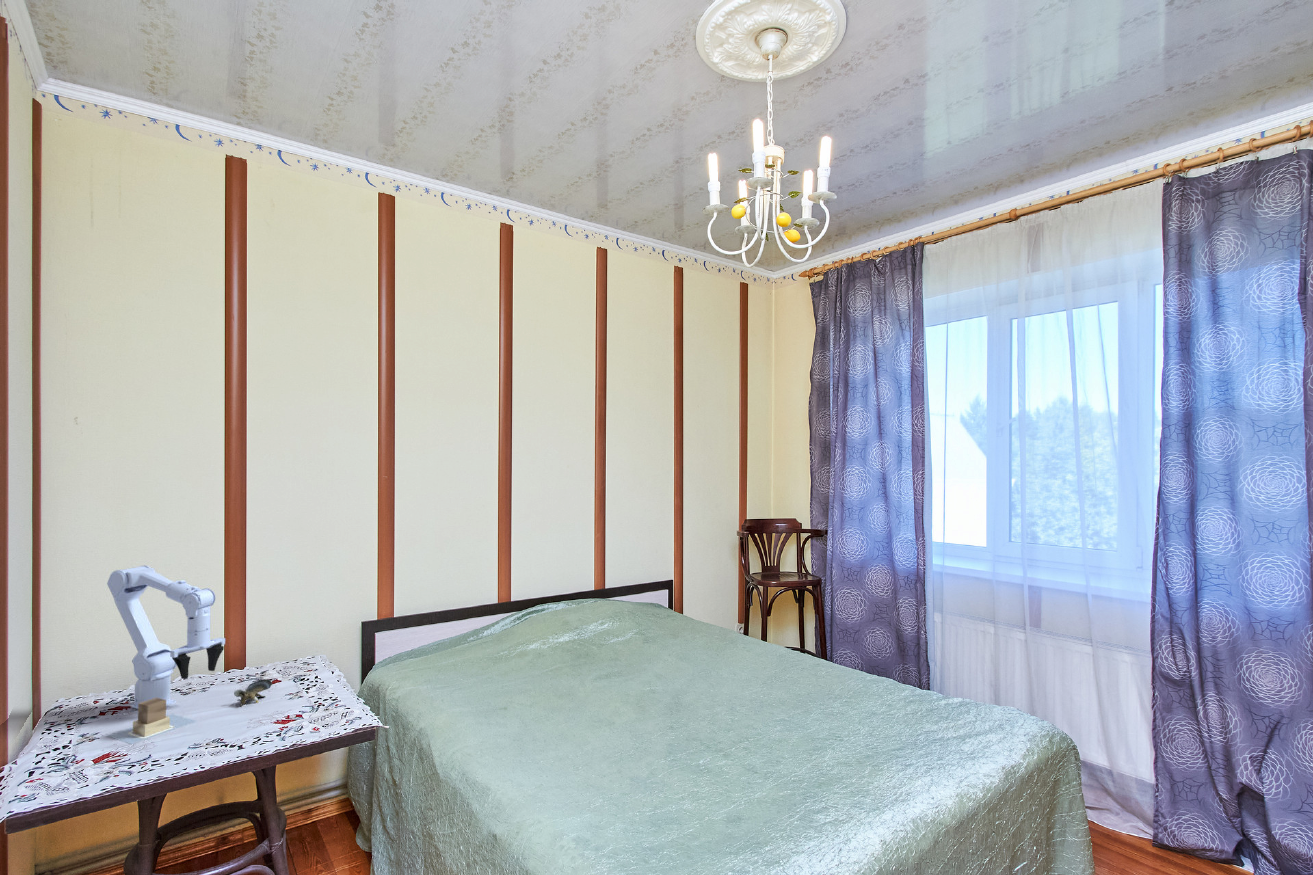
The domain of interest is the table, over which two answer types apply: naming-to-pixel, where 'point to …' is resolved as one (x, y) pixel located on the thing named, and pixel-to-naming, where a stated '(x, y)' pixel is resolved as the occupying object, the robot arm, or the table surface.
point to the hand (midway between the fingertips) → (198, 674)
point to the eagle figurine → (253, 691)
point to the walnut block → (151, 710)
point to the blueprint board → (134, 738)
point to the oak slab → (151, 727)
